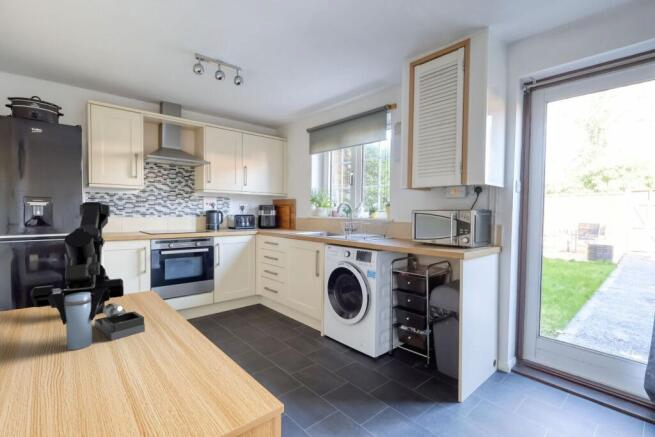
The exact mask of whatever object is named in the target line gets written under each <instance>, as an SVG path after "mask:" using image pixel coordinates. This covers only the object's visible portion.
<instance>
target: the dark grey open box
mask: <svg viewBox="0 0 655 437" xmlns="http://www.w3.org/2000/svg"><path fill="white" fill-rule="evenodd" d="M102 314H103V315H104V316H105V317H100V318H96V319H95V318H94V327H95V328H96V329H97V330H99V332H101V333H102V334H103V335H104V336H105V337H107V339H109V340H110V342H111V341H112V342H113V341H115V340H120V339H123V338H126V337H130V336H133V335H136V334H140V333H143V332H145V331H146V326H145V317H144V316H143V315H142V314H140V313H138V312H136V311H135V310H134V311H128V312H126V309H125V308H124V307H122V306H121V305H119V304H117V303H116V302H115V303H114V302H110V303H108V304H105V307H104V309H103V313H102Z"/></svg>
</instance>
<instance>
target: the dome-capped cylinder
mask: <svg viewBox="0 0 655 437" xmlns="http://www.w3.org/2000/svg"><path fill="white" fill-rule="evenodd" d="M65 309H66V324H65V329H66V330H65V332H66V334H65V335H66V336H65V337H66V350H69V351H77V350H81V349H85V348H88V347H89V346H91V345H92V344H93V327H92V326H93V325H92V324H93V323H92V321H93V320H91V319H90V315H91V293H90V292H80V293H73V294H69V295H67V296H65Z"/></svg>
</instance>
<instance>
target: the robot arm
mask: <svg viewBox="0 0 655 437" xmlns="http://www.w3.org/2000/svg"><path fill="white" fill-rule="evenodd" d="M78 208H79V217H81V218H80V220H81V221H80V224H79V227H77V228H74V230H72V232H70V233H69V234H67V235H66V236H65V237H64V244H65V248H66V250H67V254H68V256H69V258H70V259H71V260H70V265H66V266H65V272H64V279H65V282H64V283H65V287H67V288H62V287H61V288H55V287H54V285H53V284H52V285H44V286H43V285H42V286H35V287H34V288H32V289H31V291H30V293H29V294H30V296H29V297H30V299H31V301H32V305H33V306H34V307H35V308H44V307H50V309H57V311H58V312H59V315H60V319H61V323H62V324H63V326H66V309H65V296H67V295H69V294H73V293H80V292H90V293H91V315H90V319H91V320H92V321H94V320H95V317H96V315H99V314H104V313H103V309H104V307H105V306H106V302H109V301H110V300H111V299H113V298H114V299H115V298H121V297H123V296H125V295H124V292H125V287H124V286H125V285H124V280H123V279H122V278H121V277H120V278H110V277H109V275H107V272H106V269H105V268H104V265H102V253H103V252H102V250H103V248H104V245H105V244H106V243H105V241H106V240H105V239H104V237H103V229H104V227H105V226H106V225H107V224H108V223H109V218H110V217H111V206H110V205H108V204H106V203H102V202H99V201H85V202H82V204H80V205H79V207H78Z"/></svg>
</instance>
